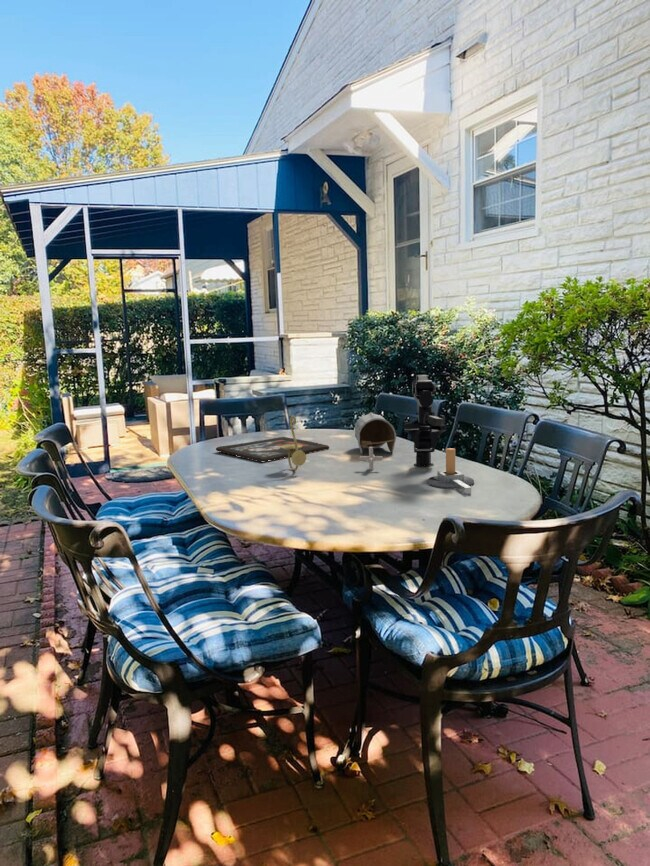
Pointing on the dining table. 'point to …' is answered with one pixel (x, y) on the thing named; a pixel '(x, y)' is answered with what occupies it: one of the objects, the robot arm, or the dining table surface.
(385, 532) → the dining table surface
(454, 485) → the rosette plate
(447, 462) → the pin
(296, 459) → the wall sconce
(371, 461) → the pipe connector
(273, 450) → the religious icon
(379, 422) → the helmet
